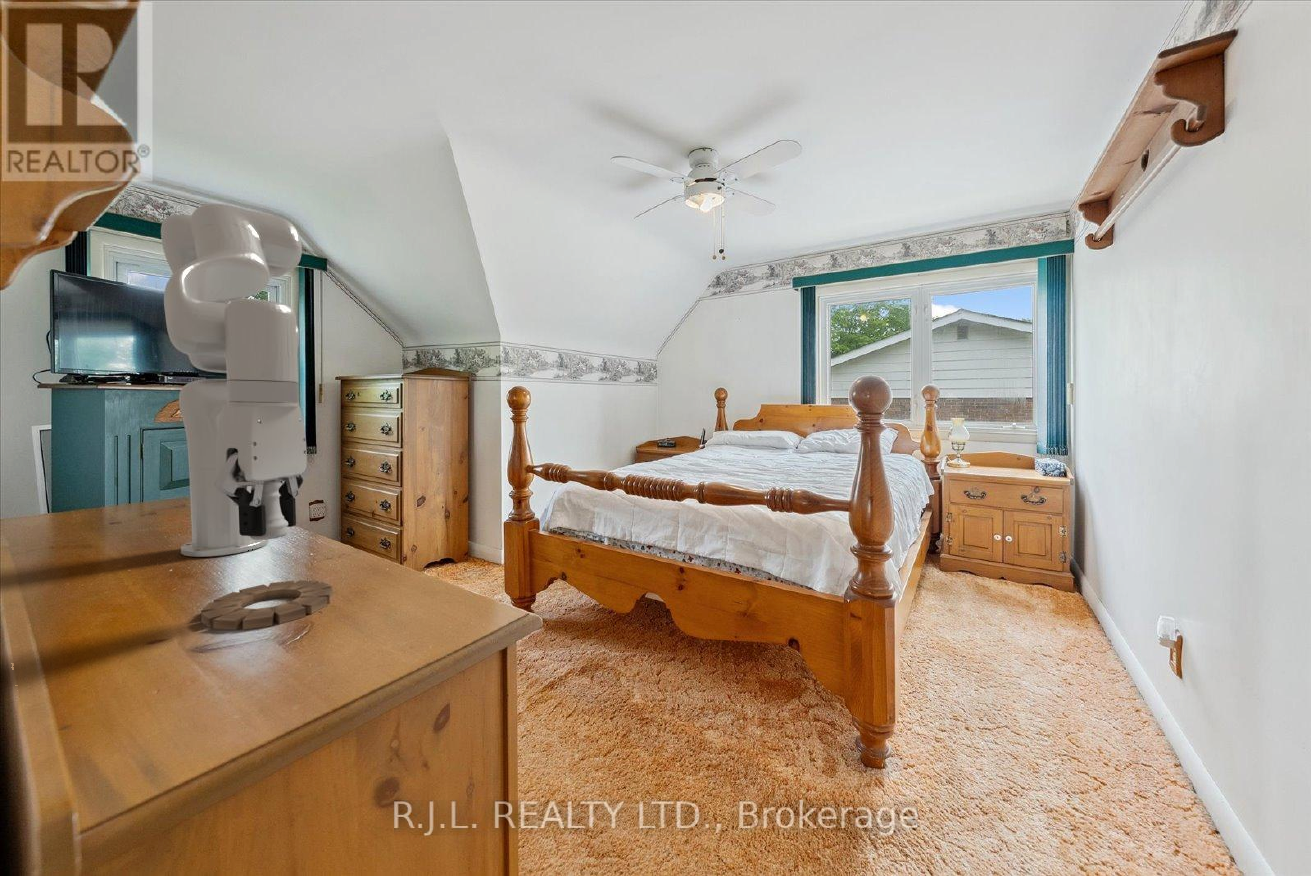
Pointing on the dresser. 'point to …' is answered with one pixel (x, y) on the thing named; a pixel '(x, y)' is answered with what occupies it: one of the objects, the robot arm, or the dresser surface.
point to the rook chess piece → (272, 512)
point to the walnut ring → (234, 615)
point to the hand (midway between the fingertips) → (268, 529)
